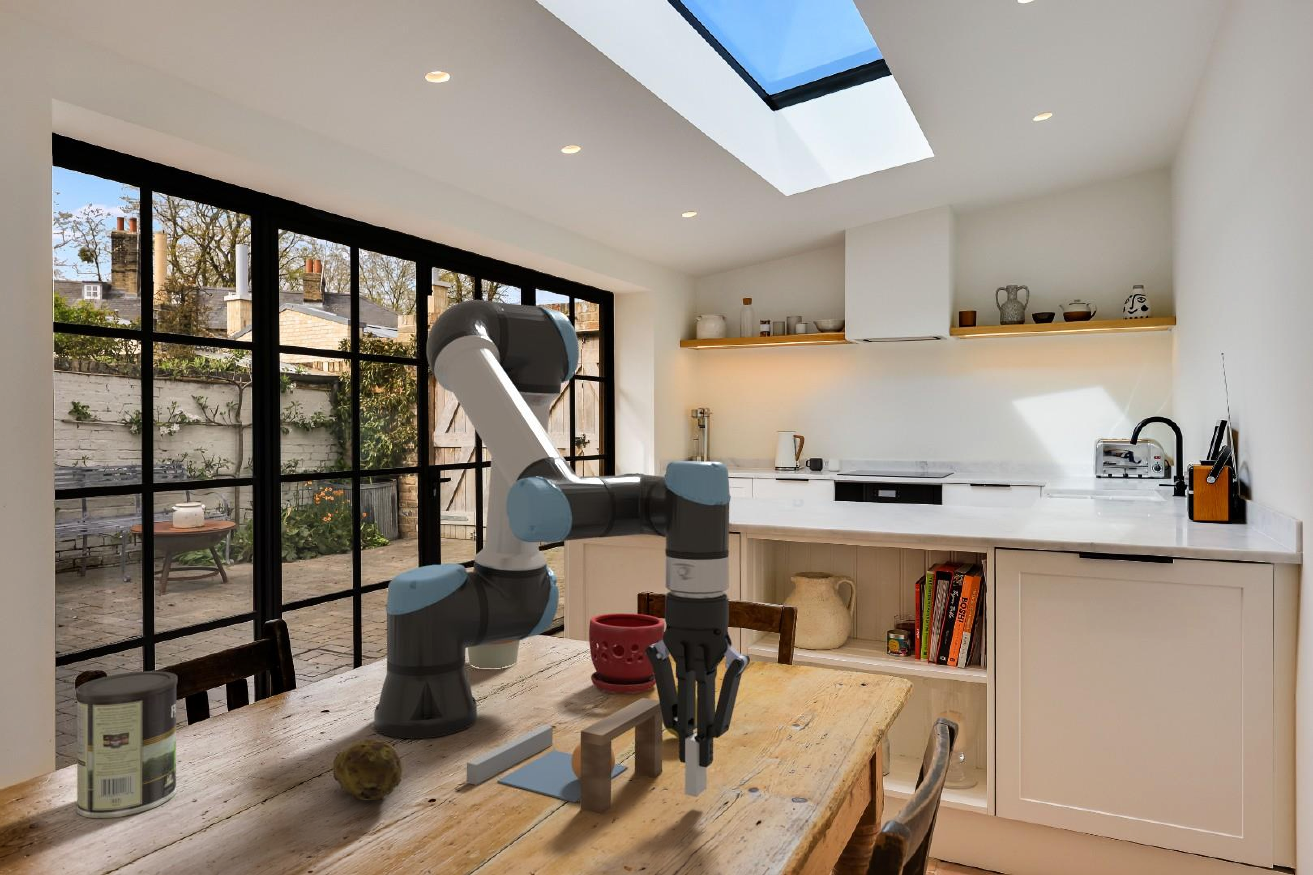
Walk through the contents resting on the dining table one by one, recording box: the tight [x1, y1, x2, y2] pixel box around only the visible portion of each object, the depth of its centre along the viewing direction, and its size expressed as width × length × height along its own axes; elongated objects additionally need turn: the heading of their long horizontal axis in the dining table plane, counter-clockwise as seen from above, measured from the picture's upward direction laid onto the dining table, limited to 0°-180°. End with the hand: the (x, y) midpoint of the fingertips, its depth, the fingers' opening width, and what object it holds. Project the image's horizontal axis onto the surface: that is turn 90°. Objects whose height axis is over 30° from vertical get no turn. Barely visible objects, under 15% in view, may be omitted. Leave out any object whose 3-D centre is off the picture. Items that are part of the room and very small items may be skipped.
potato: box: [331, 739, 404, 801], centre depth 100 cm, size 8×13×8 cm, turn 16°
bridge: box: [579, 697, 663, 816], centre depth 104 cm, size 3×14×9 cm, turn 151°
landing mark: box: [497, 749, 629, 804], centre depth 108 cm, size 12×12×1 cm
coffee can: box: [75, 670, 179, 819], centre depth 100 cm, size 10×10×14 cm
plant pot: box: [588, 613, 665, 695], centre depth 147 cm, size 13×13×12 cm
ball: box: [571, 742, 616, 780], centre depth 106 cm, size 6×6×6 cm
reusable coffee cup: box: [467, 640, 521, 668], centre depth 161 cm, size 13×13×15 cm
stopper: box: [466, 724, 554, 786], centre depth 112 cm, size 2×16×2 cm, turn 151°
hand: (695, 791), depth 99 cm, fingers closed
